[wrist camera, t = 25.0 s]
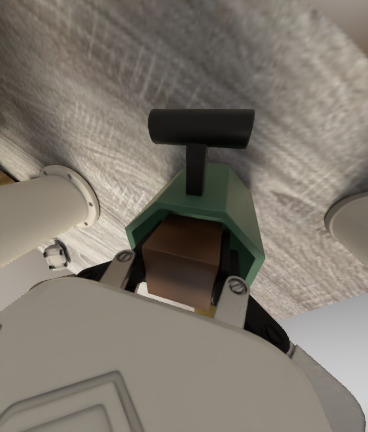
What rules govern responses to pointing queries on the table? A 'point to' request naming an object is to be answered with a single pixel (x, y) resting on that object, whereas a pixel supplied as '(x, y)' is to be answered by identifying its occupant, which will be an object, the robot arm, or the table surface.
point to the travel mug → (351, 225)
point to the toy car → (55, 257)
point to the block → (183, 260)
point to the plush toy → (5, 179)
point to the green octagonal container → (205, 180)
